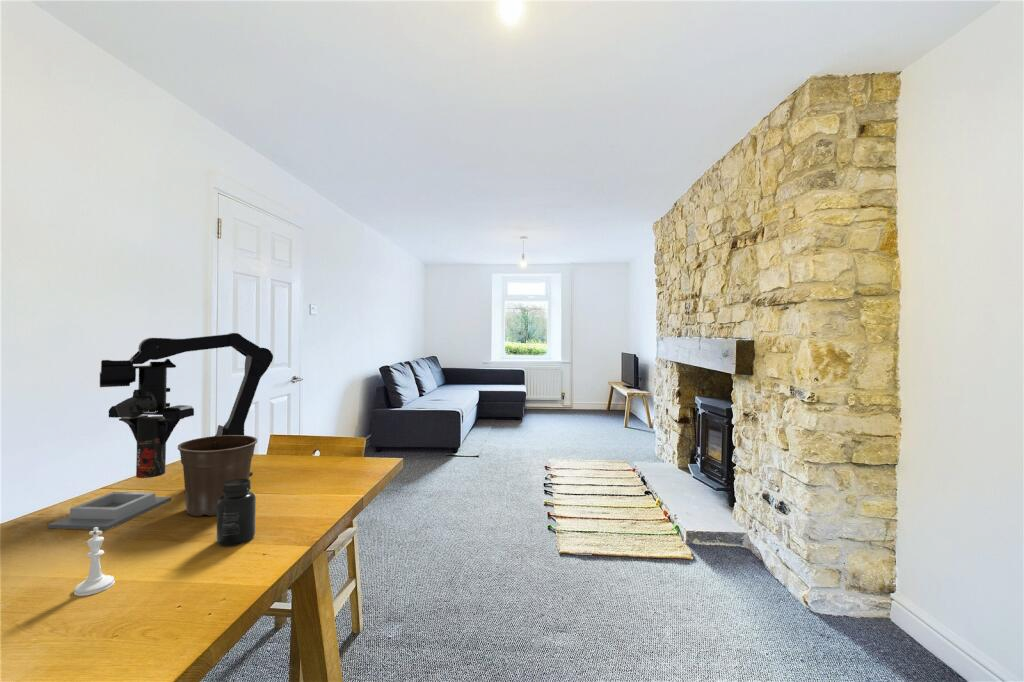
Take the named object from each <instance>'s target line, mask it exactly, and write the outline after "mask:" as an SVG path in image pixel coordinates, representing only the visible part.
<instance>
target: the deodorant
mask: <svg viewBox="0 0 1024 682" xmlns="http://www.w3.org/2000/svg"><path fill="white" fill-rule="evenodd" d="M160 419H163V415H150V416H148V417H143V418H139V419H137V441H136V460H135V461H136V464H135V465H136V467H135V468H136V469H135V472H136V473H135V477H136V478H137V479H150V478H155V477H160V476H163V475H165V474H166V456H167V455H166V454H167V442H166V443H165V444H163V445H161V442H160V425H159V423H158V422H157V421H156V420H160Z"/></svg>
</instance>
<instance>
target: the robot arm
mask: <svg viewBox="0 0 1024 682" xmlns="http://www.w3.org/2000/svg"><path fill="white" fill-rule="evenodd" d="M230 347H232V349H234V350H235V351H237V352H238V353H240V354H241V355H243V356H244V357H245V359H244V375H243V378H242V381H241V384H240V387H239V388H238V392H237V395H236V398H235V400H234V402H233V403H234V404H233V407H232V408H231V409H232V410H231V411H230V415H229V417H228V420H227V421H226V422H225V423H224V424H223V425H220V424H218V425H217V430H216V434H215V435H214V436H222V435H245V424H246V420H247V418H248V414H249V411H250V409H251V406H252V403H253V401H254V397H255V395H256V391H257V389H258V386H259V383H260V381H261V378H262V377H263V375H264V374H265V373H266V371H267V370H268V369H269V367H270V365H271V363H272V362H273V359H274V355H273V353H272V351H271V350H270V349H269V348H266V347H261V346H258V345H257V344H256V343H254V342H252V341H250V340H249V339H247V338H246V337H244V336H243V335H241V334H240V333H238V332H230V333H227V334H217V335H216V334H215V335H207V336H197V337H196V336H195V337H188V338H173V337H172V338H169V337H168V338H167V337H148V338H145V339H143V340H142V341H141V342H140V343H139V345H138V348H137V349H138V350H137V352H136V353H134V354H133V356H131V357H130V359H128V360H126V359H125V360H123V359H122V360H111V359H101V362H100V363H101V364H100V372H99V388H114V387H115V388H116V387H117V388H118V387H130V385H131V383H132V384H133V383H136V381H137V379H136V377H137V370H138V389H134V390H133V391H132V396H131V397H130V398H126V399H124V400H122V401H121V402H119V403H117V404H115V405H112V406H111V407H110V408H109V409H108V418H113V419H114V418H117V419H118V421H119V422H120V421H121V422H123V423H125V424H127V426H128V427H129V428H130V431H131V433H132V435H133V437H134V439H135V441H136V442H137V419H139V418H143V417H149V416H163V419H160V420H156V421H157V422H158V423H159V425H160V442H161V445H163V444H165V443H166V444H167V442H168V439H169V438H170V436H171V434H172V433H173V431H174V429H176V426H177V425H178V424H179V422H180V421H181V420H184V419H185V418H189V417H190V418H191V417H193V416H195V409H194V407H193V406H192V405H185V404H182V405H181V404H178V405H173V406H172V405H171V403H170V402H167V393H169V392H171V387H167V380H168V379H167V376H168V375H167V374H168V372H167V371H168V369H171V368H172V369H173V368H176V367H177V364H175V363H173V362H172V361H171V359H170V358H169V357H173V356H175V355H179V354H183V353H187V352H196V351H204V350H214V349H220V348H221V349H222V348H230ZM161 359H165V360H163V361H157V360H161ZM149 361H150V362H149ZM147 362H149V364H148V365H143V364H145V363H147ZM253 474H254V472H251V471H250V475H249V477H250V476H252V475H253Z"/></svg>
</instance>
